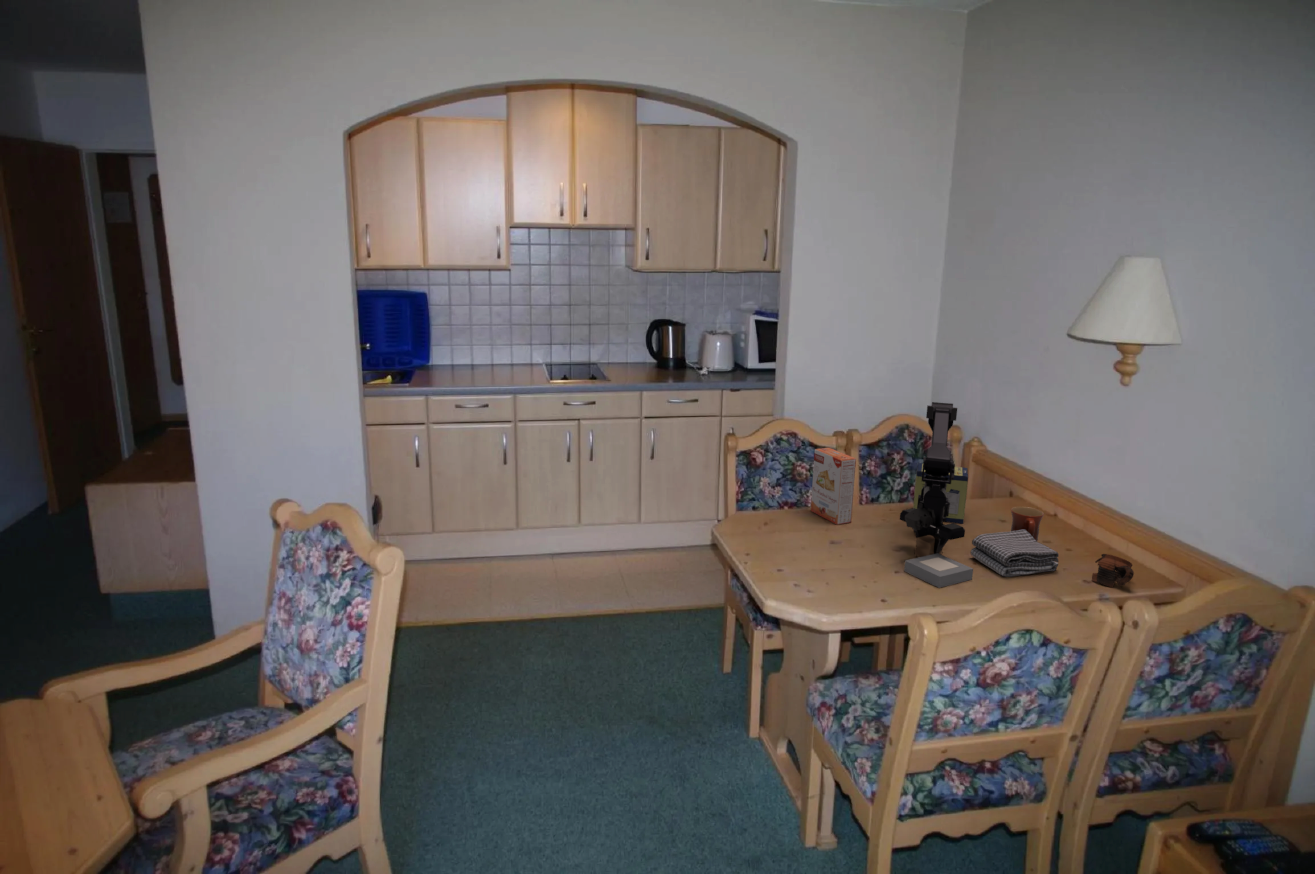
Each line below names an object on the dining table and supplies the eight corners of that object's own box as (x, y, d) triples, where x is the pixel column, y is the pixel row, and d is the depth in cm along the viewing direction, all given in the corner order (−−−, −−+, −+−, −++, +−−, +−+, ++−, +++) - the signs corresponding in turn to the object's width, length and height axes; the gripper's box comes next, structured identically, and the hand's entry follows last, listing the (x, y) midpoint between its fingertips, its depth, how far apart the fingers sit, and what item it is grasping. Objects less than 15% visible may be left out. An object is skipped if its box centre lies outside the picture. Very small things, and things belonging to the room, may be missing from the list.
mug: (1004, 538, 251) (1008, 505, 249) (1035, 541, 249) (1040, 507, 247) (1012, 552, 240) (1016, 518, 237) (1045, 555, 238) (1050, 521, 236)
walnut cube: (914, 554, 237) (916, 537, 235) (927, 551, 239) (929, 535, 238) (928, 560, 232) (930, 543, 231) (941, 557, 235) (943, 540, 234)
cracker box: (809, 511, 271) (813, 448, 266) (824, 509, 274) (829, 446, 269) (835, 525, 259) (840, 459, 254) (851, 523, 261) (857, 457, 256)
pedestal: (904, 571, 225) (905, 559, 224) (936, 563, 231) (937, 552, 230) (938, 587, 215) (940, 576, 214) (971, 579, 220) (973, 568, 220)
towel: (967, 558, 235) (970, 532, 234) (1022, 553, 241) (1025, 526, 239) (1003, 580, 221) (1007, 551, 219) (1061, 573, 227) (1065, 546, 225)
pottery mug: (1080, 578, 224) (1091, 549, 225) (1107, 592, 226) (1118, 563, 227) (1114, 585, 212) (1126, 554, 213) (1143, 599, 214) (1154, 569, 215)
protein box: (912, 508, 277) (917, 462, 273) (963, 514, 272) (968, 467, 269) (911, 518, 267) (916, 470, 264) (964, 524, 263) (969, 476, 259)
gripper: (887, 493, 236) (882, 546, 240) (939, 513, 220) (933, 569, 224) (916, 488, 241) (911, 540, 245) (969, 507, 225) (962, 562, 229)
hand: (928, 552), depth 235 cm, fingers closed on walnut cube, 5 cm apart
